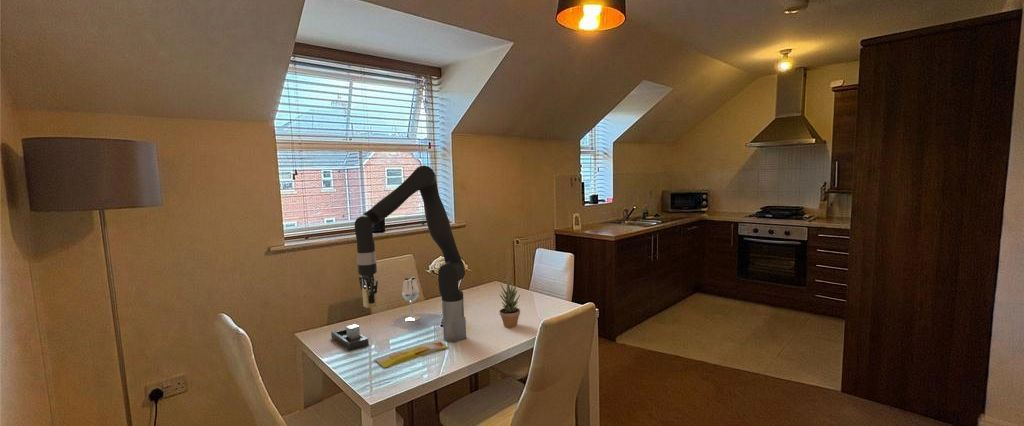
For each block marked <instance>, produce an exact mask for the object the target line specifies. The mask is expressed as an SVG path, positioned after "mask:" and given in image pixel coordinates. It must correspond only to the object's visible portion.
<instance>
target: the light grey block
mask: <svg viewBox="0 0 1024 426" xmlns="http://www.w3.org/2000/svg"><path fill="white" fill-rule="evenodd" d="M345 328H346V332H347V341H349V342H350V341H354V340H357V339H360V334H361V333H360V332H361V331H360V329H361V328H360V326H359V325H358V324H356V323H354V324H351V325H346V326H345Z"/></svg>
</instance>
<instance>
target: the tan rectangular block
mask: <svg viewBox="0 0 1024 426" xmlns="http://www.w3.org/2000/svg"><path fill="white" fill-rule="evenodd" d="M370 287H371V286H370ZM370 287H369V288H370ZM374 290H375V289H374ZM361 292H362V307H364V308H366V309H370V308H371V309H372V308H373V307H377V296H376V295H377V293H376V294H374V299H375V302H374V303H372V304H370V303H369V295H368V290H367V289H366V287H365V288H362V291H361Z"/></svg>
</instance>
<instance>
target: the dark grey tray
mask: <svg viewBox="0 0 1024 426" xmlns="http://www.w3.org/2000/svg"><path fill="white" fill-rule="evenodd" d="M330 335H331V339H332V338H333V339H334V340H333V339H332V340H333V341H335V342H336V341H337V342H336V343H338V344H339V345H341V346H342V347H343V348H344V349H346V350H347V351H349V352H351V351H355V350H358V349H362V348H366V347H367V346H369V342H370V341H369V338H368V337H366V336H365V335H363V334H362V333H360V339H357V340H354V341H350V342H349V341H347V332H346V327H344V328H340V329H337V330H336V329H335V330H333V331H331V332H330Z"/></svg>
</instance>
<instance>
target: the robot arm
mask: <svg viewBox="0 0 1024 426" xmlns="http://www.w3.org/2000/svg"><path fill="white" fill-rule="evenodd" d="M417 192H419V193H420V196H421V199H422V202H423V208H424V215H425V221H426V225H427V228H428V232H429V235H430V236H431V238H432V240H433V241H434V242H435V244H436V245H437V246H438V248H439V249H440V250H441V252H442V255H443V259H444V261H445V263H443V264H441V265H440V267H438V270H437V281H438V290H439V295H440V297H441V313H442V314H441V315H442V330H443V331H442V335H443V340H444V341H446V342H450V343H451V342H452V343H457V342H460V341H463V340H465V339H467V321H466V317H465V305H464V304H465V303H464V302H465V301H464V300H465V299H464V292H463V291H462V290H461V289H460V287H459V282H460V281H462V280H463V278H465V275H466V268H465V264H464V263H463V262H464V261H463V259H462V257H461V255H460V253H459V249H458V247H457V243H456V242H455V241H456V240H455V237H454V234H453V232H452V227H451V223H450V220H449V217H448V214H447V211H446V209H445V207H444V204H443V202H442V200H441V197H440V193H439V188H438V183H437V176H436V173H435V171H434V170H433V169H432V168H431V167H430V166H428V165H419V166H418V167H416V168H415V170H413V171H412V173H411V174H410V175H409V176H408V177H407V178H406V179H405V180H404V181H403V182H402V183H401V184H400V185H398V187H396V188H395V189H393V190H392V191H391V192H390V193H388V194H387V195H386V196H384V197H383V198H382V199H380V200H379V201H378V202H377V203H375V204H374V205H373V206H372V207H371V208H370V209H368V210H367V211H366V212H364V213H363V214H362V215H360V216H358V217H356V219H355V221H354V233H355V238H356V251H357V257H356V259H357V273H358V275H360V276H359V277H358V281H359V285H360V290H361V292H362V288H365V287H366V289H367V290H368V295H369V303H370V304H372V303H374V302H375V299H374V294H376V295H377V293H378V287H379V286H378V285H379V281H378V280H376V279H375V276H374V275H375V274H377V272H378V267H377V255H376V249H375V248H376V247H375V246H376V245H375V239H374V236H373V228H374V227H375V226H376V225H377V224H379V223H380V222H382V220H384V219H386V218H388V217H389V216H390V215H392V213H394V212H395V211H396V210H398V208H400V207H401V205H403V204H404V202H405V201H407V200H408V199H410V197H411V196H412V195H414V194H415V193H417ZM370 286H371V287H370ZM369 287H370V288H369ZM374 289H375V290H374Z"/></svg>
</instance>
